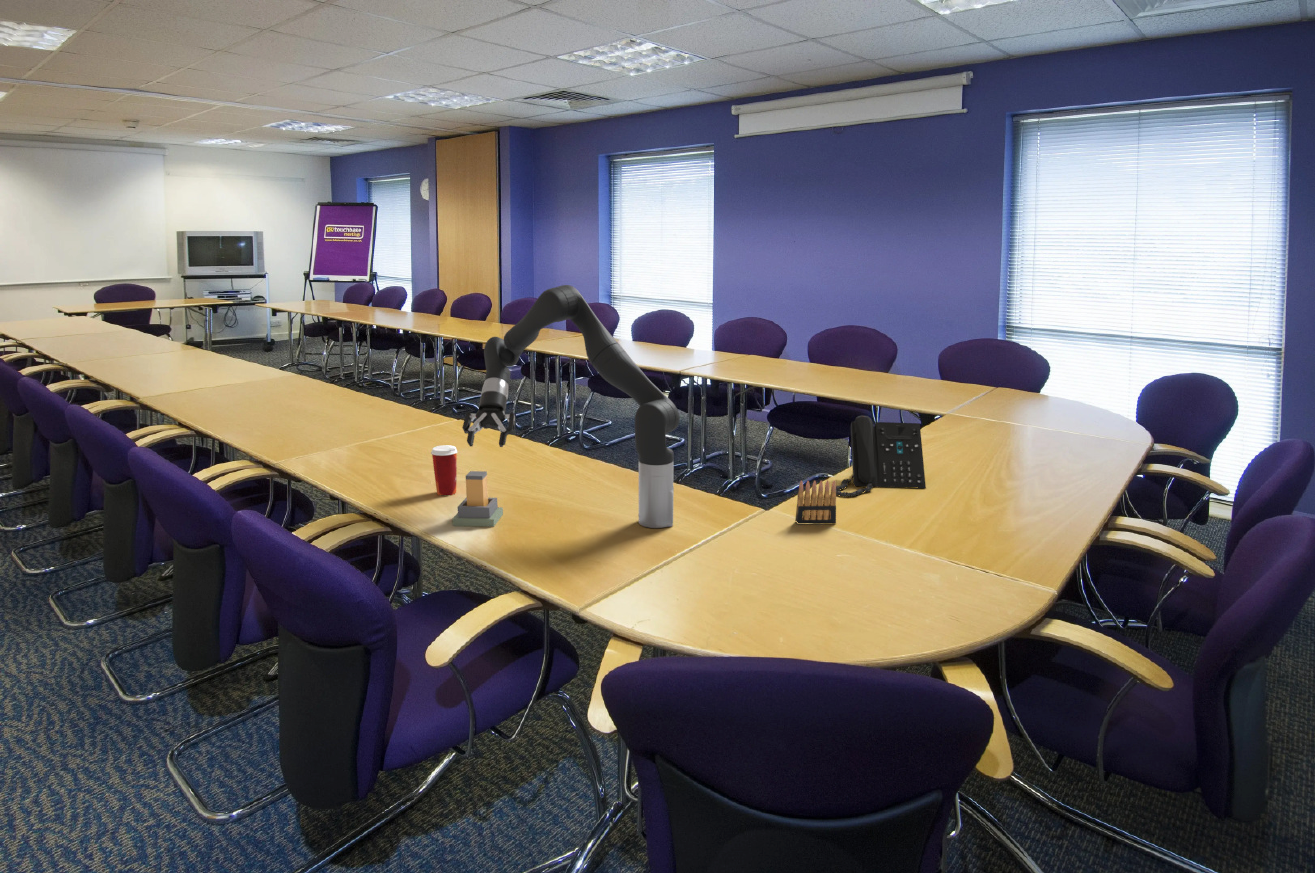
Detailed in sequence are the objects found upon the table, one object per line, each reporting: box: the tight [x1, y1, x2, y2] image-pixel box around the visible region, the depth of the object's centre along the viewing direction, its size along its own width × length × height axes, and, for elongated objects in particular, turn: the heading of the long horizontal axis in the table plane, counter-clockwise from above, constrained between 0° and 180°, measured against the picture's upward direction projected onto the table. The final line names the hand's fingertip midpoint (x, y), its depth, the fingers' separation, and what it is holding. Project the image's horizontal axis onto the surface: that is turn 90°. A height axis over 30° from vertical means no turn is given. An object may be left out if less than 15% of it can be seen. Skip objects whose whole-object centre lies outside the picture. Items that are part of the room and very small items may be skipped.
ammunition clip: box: [794, 479, 837, 523], centre depth 216 cm, size 11×2×12 cm, turn 93°
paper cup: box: [430, 444, 458, 496], centre depth 239 cm, size 8×8×14 cm
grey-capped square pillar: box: [465, 470, 489, 506], centre depth 216 cm, size 4×4×11 cm
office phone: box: [836, 414, 927, 498], centre depth 249 cm, size 29×28×20 cm
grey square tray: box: [452, 496, 504, 528], centre depth 217 cm, size 11×10×5 cm
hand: (485, 445), depth 224 cm, fingers open, 8 cm apart
